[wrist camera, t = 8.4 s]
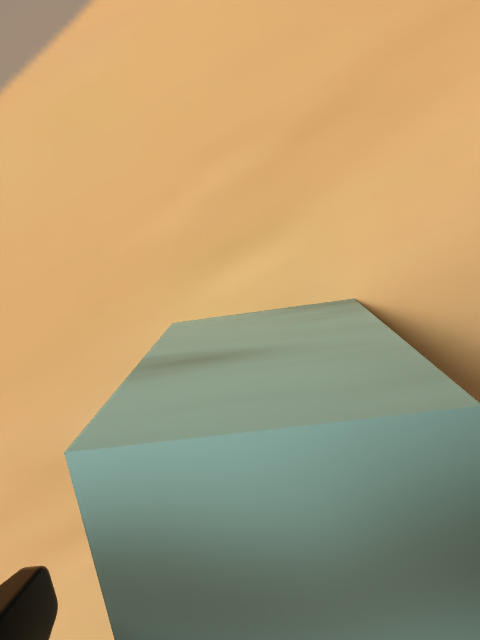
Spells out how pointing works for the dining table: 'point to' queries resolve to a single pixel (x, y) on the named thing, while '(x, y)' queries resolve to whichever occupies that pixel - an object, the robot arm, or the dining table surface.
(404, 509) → the pale teal cube
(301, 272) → the dining table surface
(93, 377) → the dining table surface
